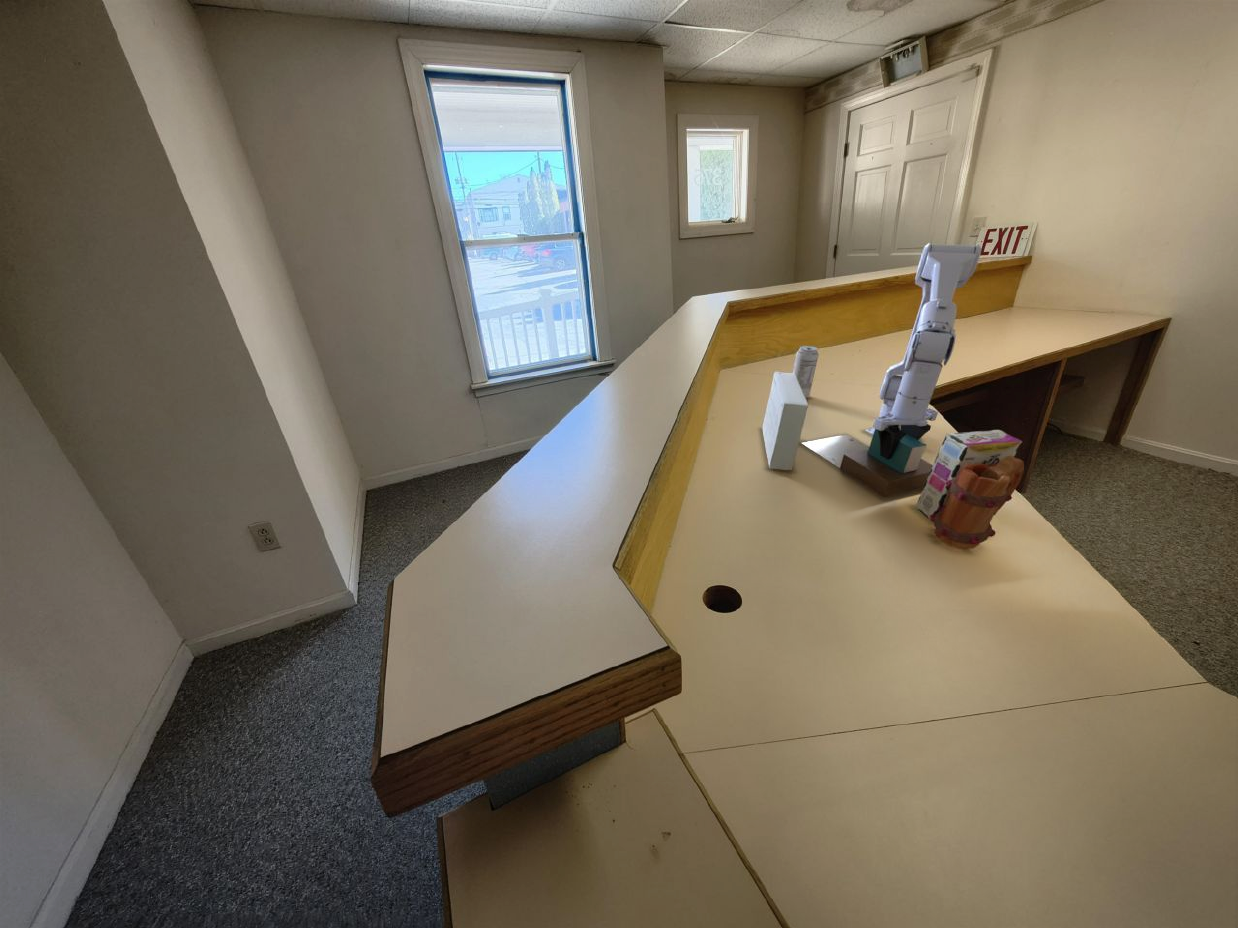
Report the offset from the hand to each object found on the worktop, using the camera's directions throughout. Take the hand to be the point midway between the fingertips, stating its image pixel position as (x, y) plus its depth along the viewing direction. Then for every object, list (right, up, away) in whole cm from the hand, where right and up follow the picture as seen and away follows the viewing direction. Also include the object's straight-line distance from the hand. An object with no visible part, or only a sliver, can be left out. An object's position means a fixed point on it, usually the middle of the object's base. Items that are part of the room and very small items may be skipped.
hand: (893, 455), depth 95 cm
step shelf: (-2, -2, +8) cm, 8 cm away
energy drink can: (-3, +19, +43) cm, 47 cm away
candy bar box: (+6, -11, -8) cm, 15 cm away
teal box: (0, -1, +1) cm, 2 cm away
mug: (+4, -15, -14) cm, 21 cm away
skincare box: (-20, +2, +14) cm, 24 cm away
